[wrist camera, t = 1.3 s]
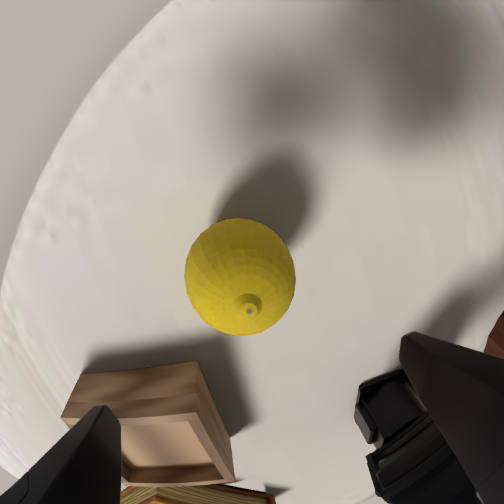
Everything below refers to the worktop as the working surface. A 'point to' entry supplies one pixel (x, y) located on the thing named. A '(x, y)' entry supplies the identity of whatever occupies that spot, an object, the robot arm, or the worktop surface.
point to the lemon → (240, 276)
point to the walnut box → (160, 424)
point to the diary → (194, 495)
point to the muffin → (496, 339)
